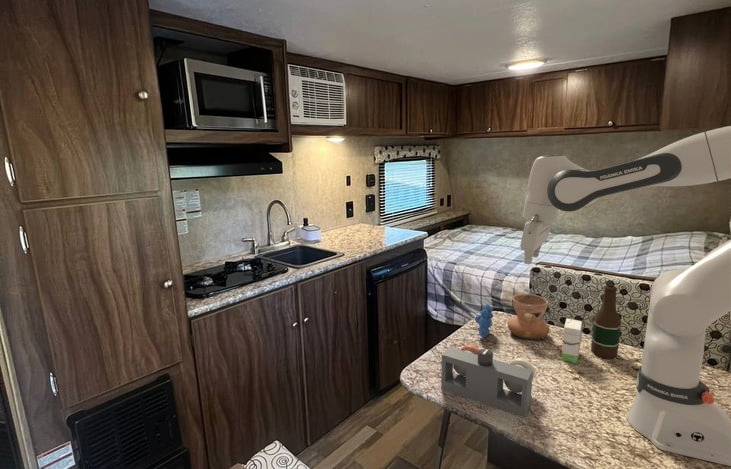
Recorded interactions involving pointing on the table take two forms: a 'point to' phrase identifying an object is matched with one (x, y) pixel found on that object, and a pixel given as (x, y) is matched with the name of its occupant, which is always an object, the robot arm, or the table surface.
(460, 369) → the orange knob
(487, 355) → the pot dial
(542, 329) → the ceramic jug
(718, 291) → the robot arm
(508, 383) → the cream knob
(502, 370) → the mount
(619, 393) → the table surface
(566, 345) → the ink box
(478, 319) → the grapes
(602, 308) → the beer bottle
